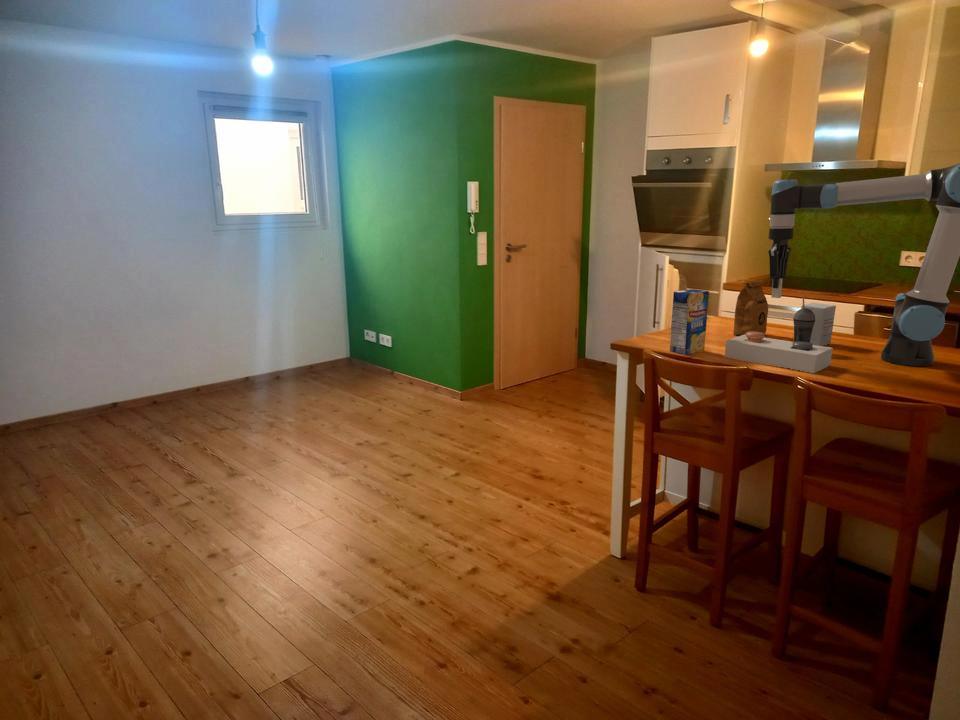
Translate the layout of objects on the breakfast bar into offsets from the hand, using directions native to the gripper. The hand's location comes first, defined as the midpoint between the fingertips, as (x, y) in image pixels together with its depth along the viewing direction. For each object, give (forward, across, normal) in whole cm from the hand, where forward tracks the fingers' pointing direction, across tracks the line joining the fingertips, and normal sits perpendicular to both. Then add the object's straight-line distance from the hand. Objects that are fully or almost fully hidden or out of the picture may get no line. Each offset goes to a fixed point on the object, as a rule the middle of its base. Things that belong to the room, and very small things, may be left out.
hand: (776, 297), depth 222 cm
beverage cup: (+22, -16, +4) cm, 27 cm away
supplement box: (+22, -32, +3) cm, 38 cm away
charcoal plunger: (+19, +5, +11) cm, 23 cm away
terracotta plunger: (+18, +4, -5) cm, 19 cm away
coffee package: (+21, -30, -21) cm, 42 cm away
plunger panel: (+21, +4, +3) cm, 22 cm away
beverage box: (+21, +12, -26) cm, 35 cm away
